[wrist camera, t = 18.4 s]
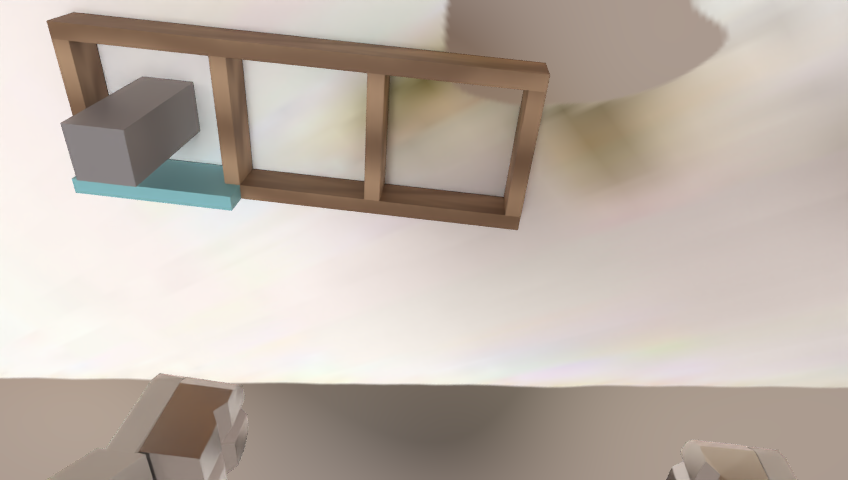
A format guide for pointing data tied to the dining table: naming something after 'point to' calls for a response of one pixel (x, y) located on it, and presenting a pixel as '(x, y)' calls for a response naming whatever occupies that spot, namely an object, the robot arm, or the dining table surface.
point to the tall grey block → (131, 131)
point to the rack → (229, 47)
